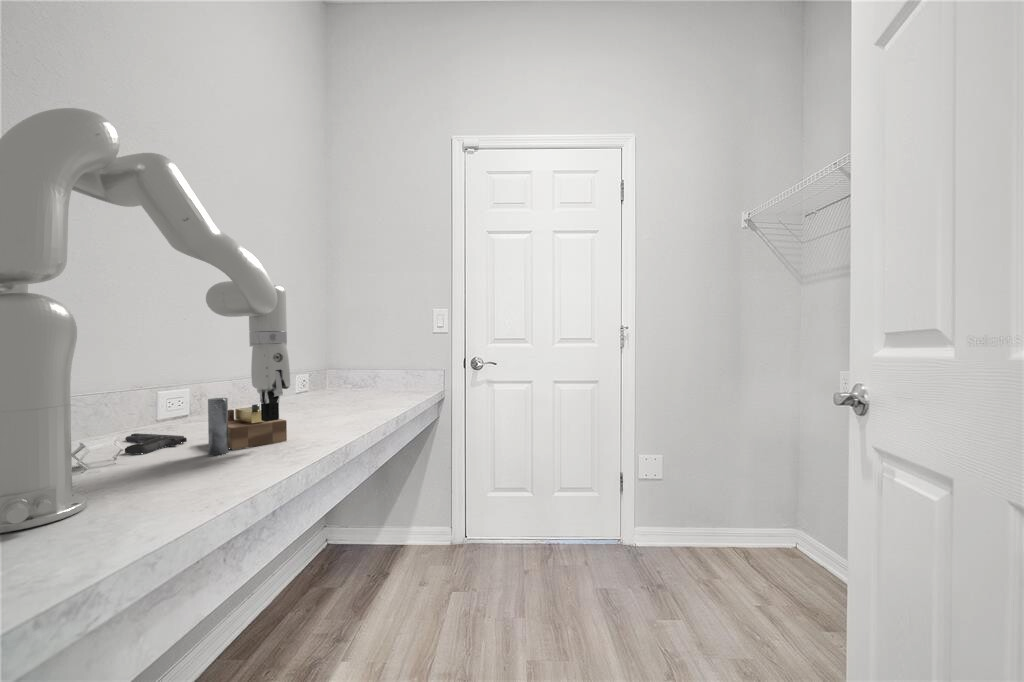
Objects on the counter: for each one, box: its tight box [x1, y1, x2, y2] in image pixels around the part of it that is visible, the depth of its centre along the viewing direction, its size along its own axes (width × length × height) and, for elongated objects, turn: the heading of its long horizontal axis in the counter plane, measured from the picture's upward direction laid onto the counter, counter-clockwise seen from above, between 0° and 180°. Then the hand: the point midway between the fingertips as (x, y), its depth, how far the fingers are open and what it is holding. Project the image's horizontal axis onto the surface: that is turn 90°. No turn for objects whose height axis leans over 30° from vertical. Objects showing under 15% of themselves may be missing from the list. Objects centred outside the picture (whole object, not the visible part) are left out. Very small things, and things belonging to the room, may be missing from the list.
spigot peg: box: [207, 397, 229, 456], centre depth 100 cm, size 4×4×12 cm
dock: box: [228, 406, 288, 451], centre depth 112 cm, size 12×12×8 cm
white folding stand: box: [71, 436, 125, 474], centre depth 91 cm, size 12×8×5 cm
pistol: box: [124, 432, 188, 455], centre depth 108 cm, size 2×19×12 cm
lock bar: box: [234, 403, 265, 423], centre depth 111 cm, size 10×3×4 cm, turn 50°
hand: (270, 420), depth 105 cm, fingers closed
